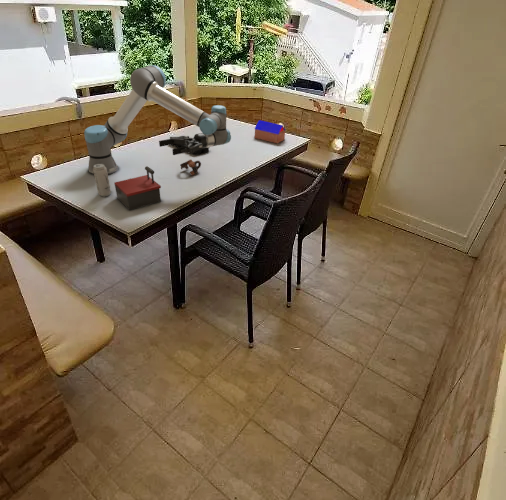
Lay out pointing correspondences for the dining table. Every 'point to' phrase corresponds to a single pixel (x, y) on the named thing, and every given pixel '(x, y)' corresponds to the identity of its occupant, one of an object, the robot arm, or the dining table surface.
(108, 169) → the robot arm
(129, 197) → the dark gray box
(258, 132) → the house
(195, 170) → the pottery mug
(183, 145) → the egg carton
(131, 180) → the lid
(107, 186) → the energy drink can
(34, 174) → the dining table surface
